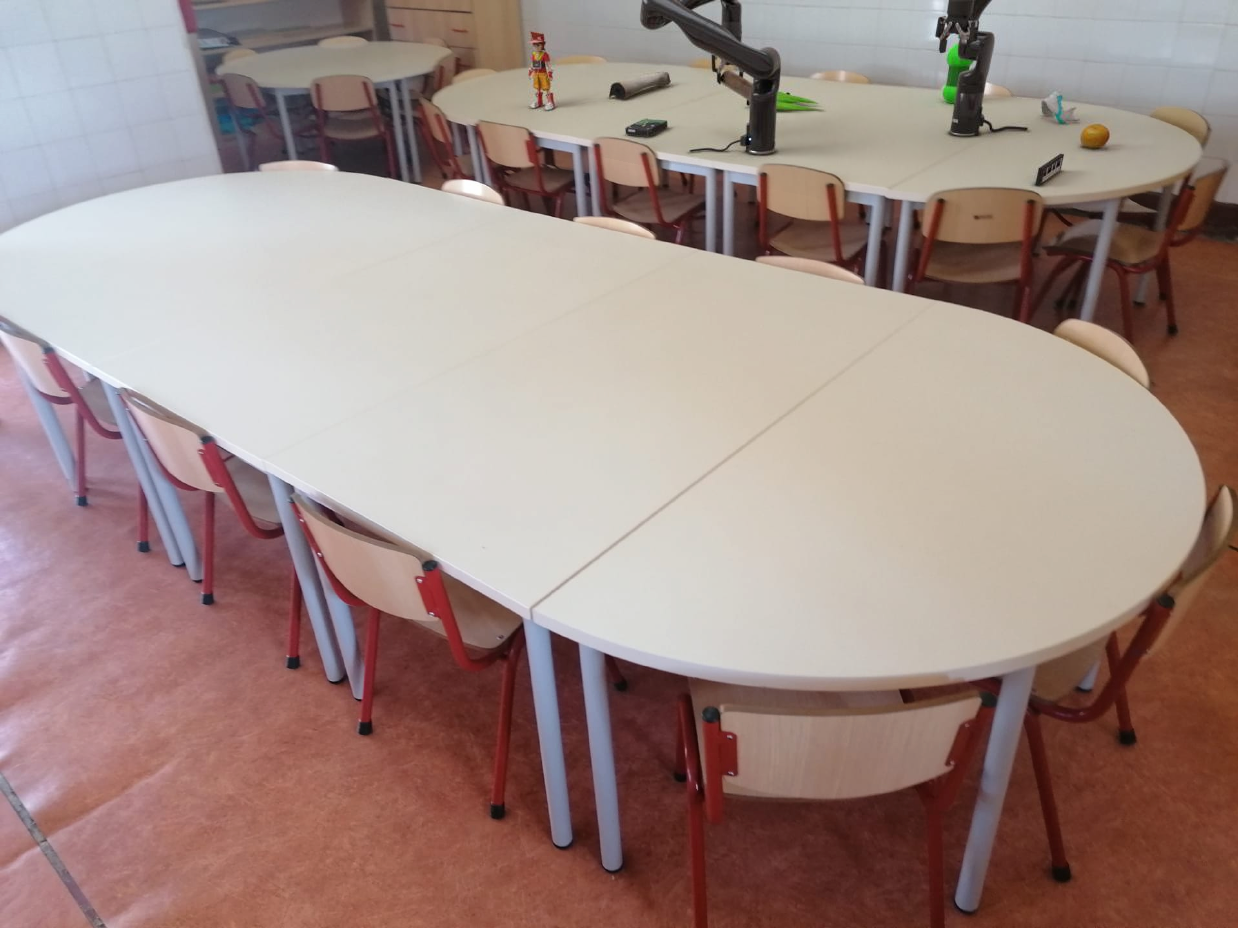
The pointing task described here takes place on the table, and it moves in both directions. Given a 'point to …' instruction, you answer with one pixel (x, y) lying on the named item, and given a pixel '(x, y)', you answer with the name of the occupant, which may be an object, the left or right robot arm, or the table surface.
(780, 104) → the toy
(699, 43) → the left robot arm
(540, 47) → the toy
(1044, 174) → the midi keyboard
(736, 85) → the rod
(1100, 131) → the fruit
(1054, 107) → the anatomical model
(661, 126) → the disk drive
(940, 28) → the right robot arm
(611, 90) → the rolled mat
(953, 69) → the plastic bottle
